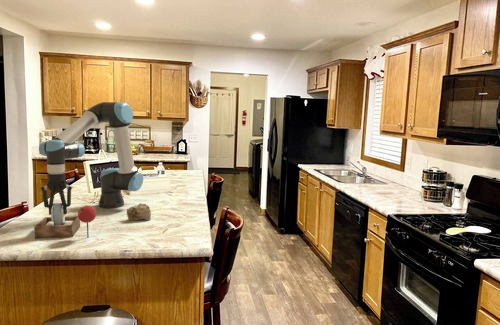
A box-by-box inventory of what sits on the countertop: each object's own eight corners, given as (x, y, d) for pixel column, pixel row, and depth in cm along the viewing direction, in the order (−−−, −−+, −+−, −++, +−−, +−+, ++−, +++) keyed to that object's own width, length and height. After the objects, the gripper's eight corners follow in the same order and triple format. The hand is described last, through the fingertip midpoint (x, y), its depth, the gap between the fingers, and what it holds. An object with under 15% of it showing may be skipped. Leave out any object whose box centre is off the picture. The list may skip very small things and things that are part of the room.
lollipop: (82, 235, 180) (81, 204, 178) (98, 234, 180) (98, 204, 179) (76, 240, 172) (75, 208, 170) (93, 240, 173) (92, 208, 171)
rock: (154, 215, 213) (147, 199, 210) (152, 220, 207) (145, 203, 204) (133, 221, 213) (126, 205, 210) (131, 226, 207) (124, 210, 204)
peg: (64, 226, 185) (63, 202, 183) (61, 229, 181) (60, 204, 180) (55, 226, 184) (54, 202, 183) (52, 229, 180) (51, 204, 179)
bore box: (80, 226, 192) (79, 216, 192) (72, 236, 177) (72, 225, 176) (45, 228, 189) (45, 217, 188) (34, 238, 173) (34, 226, 173)
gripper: (77, 171, 185) (78, 218, 188) (39, 171, 181) (41, 219, 184) (73, 173, 177) (75, 222, 180) (34, 174, 174) (36, 224, 177)
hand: (58, 221), depth 182 cm, fingers closed on peg, 4 cm apart
